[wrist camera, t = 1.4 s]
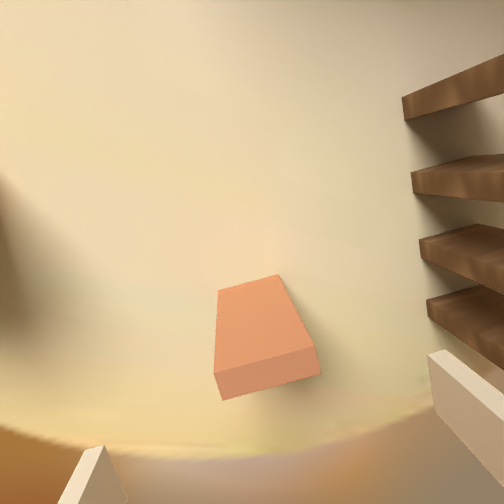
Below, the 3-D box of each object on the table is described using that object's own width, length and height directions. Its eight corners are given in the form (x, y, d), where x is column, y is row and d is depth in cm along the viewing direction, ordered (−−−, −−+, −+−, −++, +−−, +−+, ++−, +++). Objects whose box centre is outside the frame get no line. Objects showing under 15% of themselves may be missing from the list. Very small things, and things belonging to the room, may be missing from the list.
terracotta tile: (218, 290, 26) (213, 373, 15) (278, 274, 26) (314, 345, 15) (223, 308, 26) (222, 400, 16) (282, 292, 26) (321, 373, 16)
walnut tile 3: (410, 172, 25) (549, 172, 14) (472, 156, 25) (656, 143, 14) (413, 192, 25) (550, 207, 15) (473, 176, 25) (654, 179, 15)
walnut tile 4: (401, 97, 23) (548, 35, 13) (466, 80, 24) (666, 4, 13) (404, 120, 24) (549, 77, 13) (468, 103, 24) (663, 47, 13)
